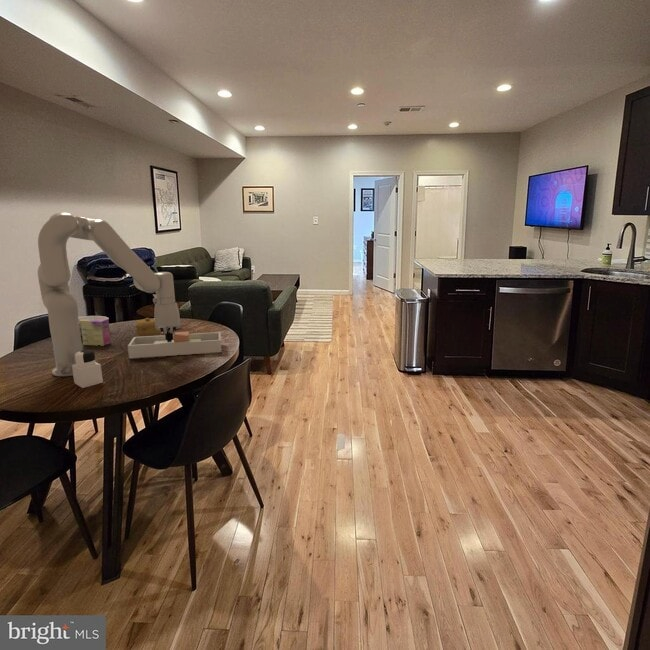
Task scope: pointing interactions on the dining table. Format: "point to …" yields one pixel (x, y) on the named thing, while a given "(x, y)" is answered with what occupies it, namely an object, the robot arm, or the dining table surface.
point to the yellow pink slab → (91, 318)
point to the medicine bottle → (86, 369)
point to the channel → (174, 346)
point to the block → (181, 337)
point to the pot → (146, 328)
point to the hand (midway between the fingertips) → (169, 341)
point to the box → (95, 331)
